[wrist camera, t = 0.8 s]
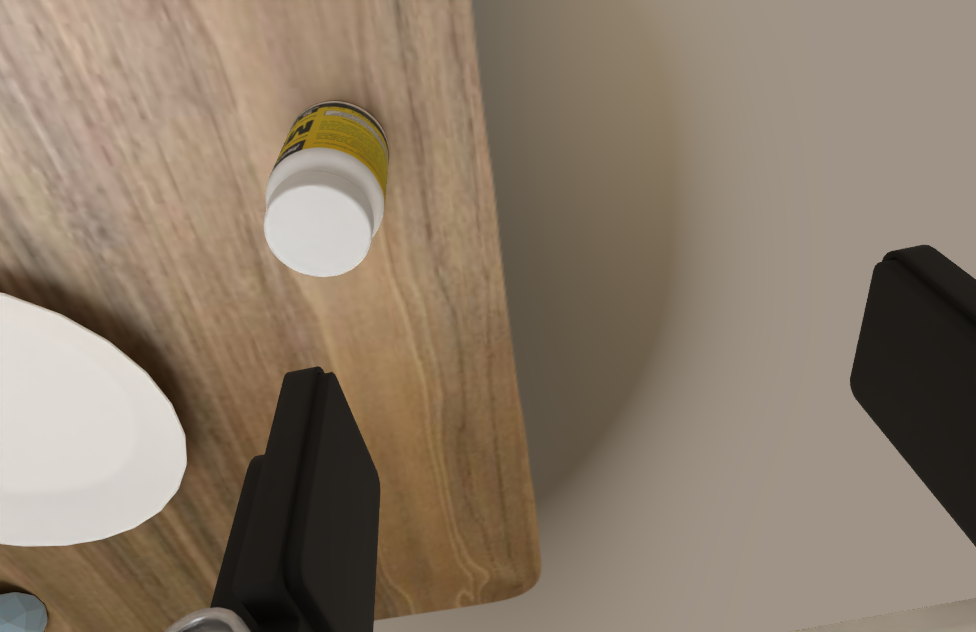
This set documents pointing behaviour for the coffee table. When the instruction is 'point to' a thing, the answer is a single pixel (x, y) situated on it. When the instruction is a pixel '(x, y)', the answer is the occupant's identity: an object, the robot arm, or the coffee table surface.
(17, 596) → the gemstone
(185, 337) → the coffee table surface
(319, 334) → the coffee table surface
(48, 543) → the plate
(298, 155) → the supplement bottle
